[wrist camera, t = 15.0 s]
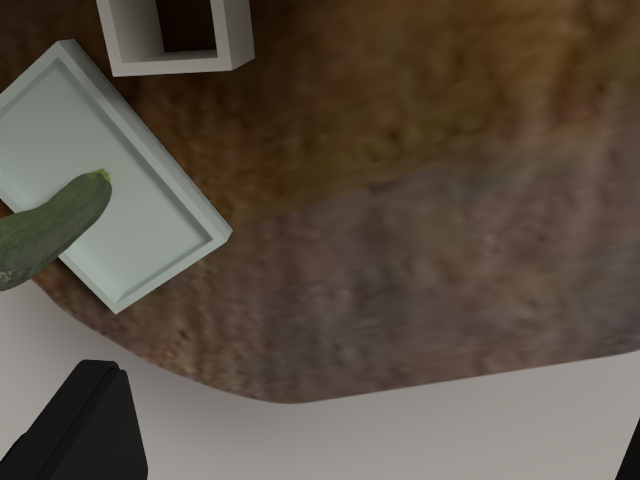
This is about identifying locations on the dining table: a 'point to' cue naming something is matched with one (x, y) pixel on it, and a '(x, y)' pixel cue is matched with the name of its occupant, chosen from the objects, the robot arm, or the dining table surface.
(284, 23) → the dining table surface
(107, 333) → the dining table surface
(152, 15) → the grey square open box
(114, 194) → the tray
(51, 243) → the vegetable
